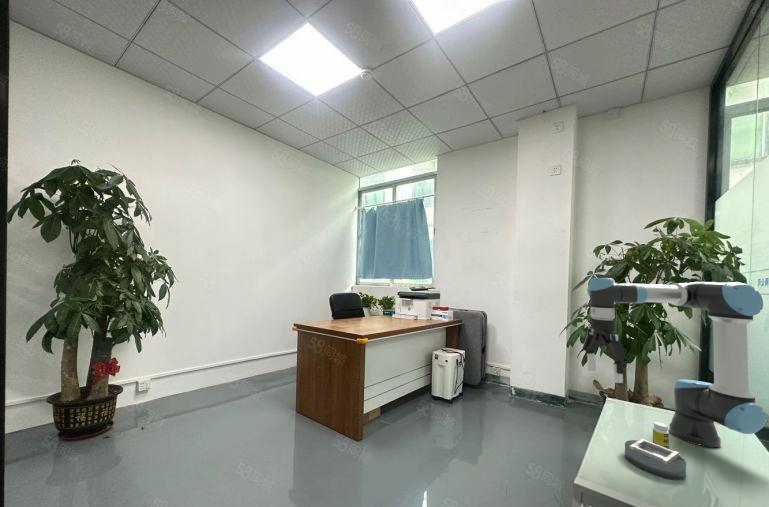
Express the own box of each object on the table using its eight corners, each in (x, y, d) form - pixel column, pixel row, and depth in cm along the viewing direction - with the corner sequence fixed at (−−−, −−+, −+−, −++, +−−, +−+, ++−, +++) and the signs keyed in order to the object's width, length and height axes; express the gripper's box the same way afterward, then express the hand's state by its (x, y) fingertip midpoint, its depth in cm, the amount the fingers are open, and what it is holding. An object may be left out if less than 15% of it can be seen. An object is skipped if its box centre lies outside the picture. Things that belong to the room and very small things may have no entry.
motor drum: (635, 447, 118) (635, 433, 119) (692, 471, 105) (692, 455, 105) (616, 458, 110) (616, 443, 110) (676, 486, 96) (676, 468, 97)
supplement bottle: (665, 451, 116) (665, 428, 117) (650, 444, 121) (650, 422, 121) (671, 448, 119) (671, 426, 119) (656, 442, 123) (656, 420, 123)
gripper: (571, 314, 130) (573, 366, 128) (618, 323, 105) (620, 388, 103) (589, 314, 130) (591, 366, 128) (640, 324, 105) (642, 388, 103)
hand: (604, 376), depth 116 cm, fingers open, 13 cm apart
